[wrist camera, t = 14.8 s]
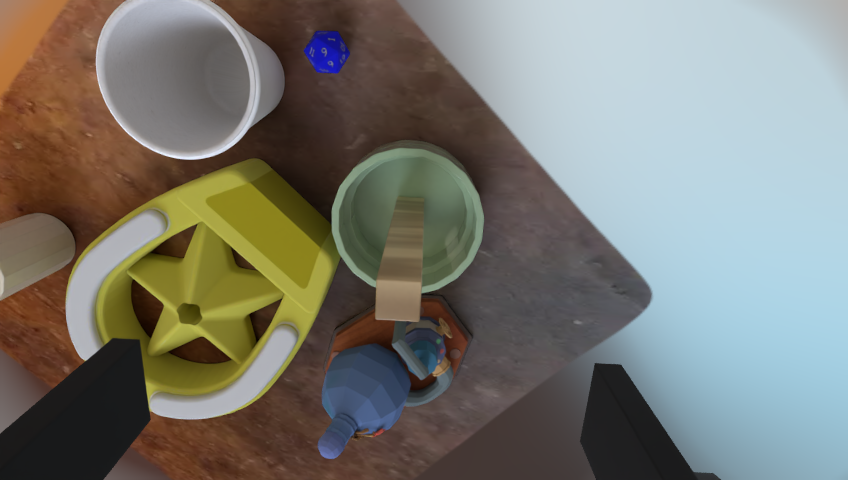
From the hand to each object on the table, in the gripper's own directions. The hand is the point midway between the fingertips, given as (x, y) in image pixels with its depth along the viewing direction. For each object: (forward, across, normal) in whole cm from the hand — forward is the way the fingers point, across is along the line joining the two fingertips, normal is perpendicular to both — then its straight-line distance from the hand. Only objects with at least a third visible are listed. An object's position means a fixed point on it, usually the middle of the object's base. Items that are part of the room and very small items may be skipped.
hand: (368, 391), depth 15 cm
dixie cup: (+25, -11, +8) cm, 28 cm away
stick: (+24, +1, -1) cm, 24 cm away
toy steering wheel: (+24, -14, -8) cm, 29 cm away
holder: (+24, -27, -5) cm, 37 cm away
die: (+25, -5, +10) cm, 27 cm away
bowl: (+24, +1, -1) cm, 24 cm away
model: (+24, 0, -13) cm, 28 cm away
